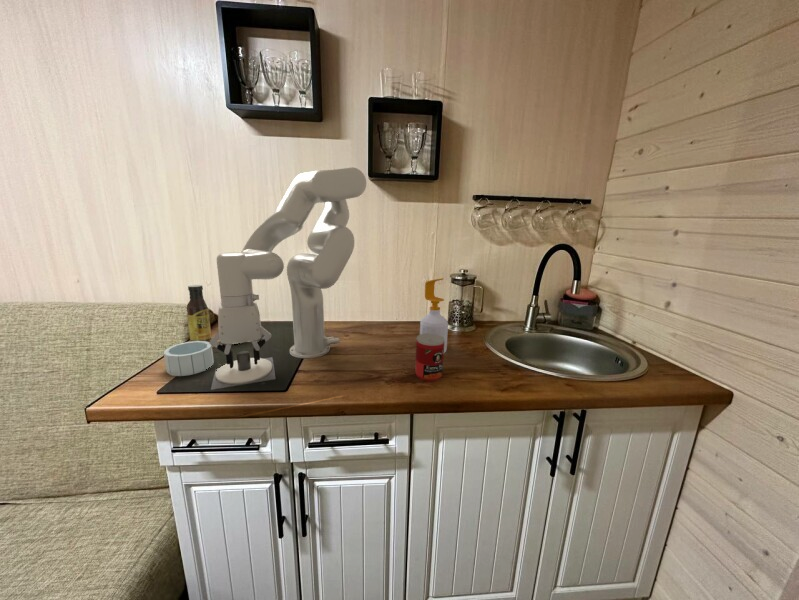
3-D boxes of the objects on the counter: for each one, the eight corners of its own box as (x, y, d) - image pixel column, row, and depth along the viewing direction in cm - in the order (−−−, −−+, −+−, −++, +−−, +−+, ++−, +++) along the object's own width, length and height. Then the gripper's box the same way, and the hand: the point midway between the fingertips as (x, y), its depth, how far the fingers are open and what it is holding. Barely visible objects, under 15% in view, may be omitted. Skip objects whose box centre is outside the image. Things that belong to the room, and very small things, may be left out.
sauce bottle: (202, 347, 105) (194, 288, 100) (185, 345, 106) (177, 287, 102) (216, 340, 111) (210, 284, 107) (201, 338, 112) (194, 283, 108)
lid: (270, 357, 97) (269, 341, 96) (273, 378, 84) (272, 359, 83) (218, 365, 91) (216, 347, 90) (213, 388, 79) (210, 368, 77)
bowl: (215, 357, 97) (213, 339, 96) (211, 372, 88) (208, 352, 86) (172, 363, 93) (169, 344, 91) (163, 379, 83) (159, 358, 82)
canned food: (424, 384, 84) (426, 345, 81) (409, 371, 91) (411, 335, 88) (448, 378, 87) (450, 340, 85) (432, 366, 94) (434, 331, 92)
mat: (272, 358, 98) (272, 357, 97) (275, 380, 84) (275, 378, 84) (216, 366, 92) (216, 365, 91) (210, 391, 78) (210, 389, 78)
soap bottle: (433, 358, 100) (437, 281, 94) (413, 349, 107) (416, 277, 101) (452, 351, 106) (456, 278, 100) (432, 343, 113) (435, 274, 107)
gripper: (271, 295, 90) (276, 354, 94) (201, 299, 83) (209, 363, 87) (273, 301, 83) (278, 364, 87) (197, 306, 76) (206, 375, 81)
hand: (244, 363), depth 87 cm, fingers open, 5 cm apart
